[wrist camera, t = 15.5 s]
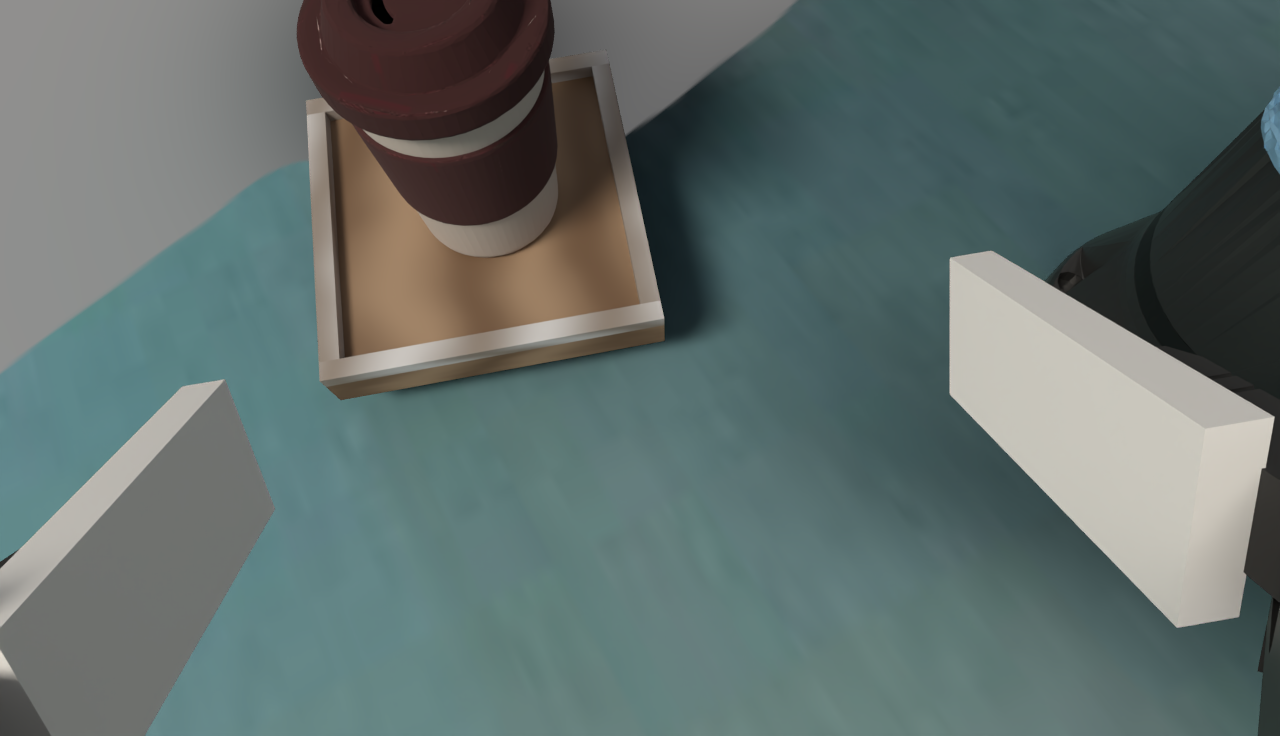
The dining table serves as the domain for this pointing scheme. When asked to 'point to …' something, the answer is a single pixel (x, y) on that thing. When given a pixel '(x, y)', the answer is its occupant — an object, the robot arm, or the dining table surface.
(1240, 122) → the dining table surface
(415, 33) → the coffee cup
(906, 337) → the dining table surface
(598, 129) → the shallow square tray
